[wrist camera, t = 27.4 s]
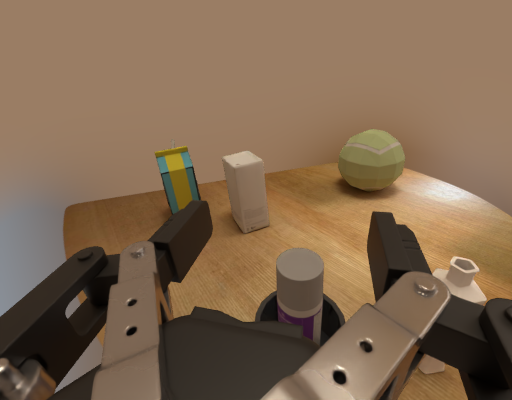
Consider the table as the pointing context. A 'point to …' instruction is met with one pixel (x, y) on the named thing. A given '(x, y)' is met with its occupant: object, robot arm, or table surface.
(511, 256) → the table surface
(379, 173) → the decorative sphere
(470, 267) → the white faceted vase
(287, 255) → the container
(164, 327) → the robot arm
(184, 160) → the carton
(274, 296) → the cylindrical pot
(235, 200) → the cosmetic box
